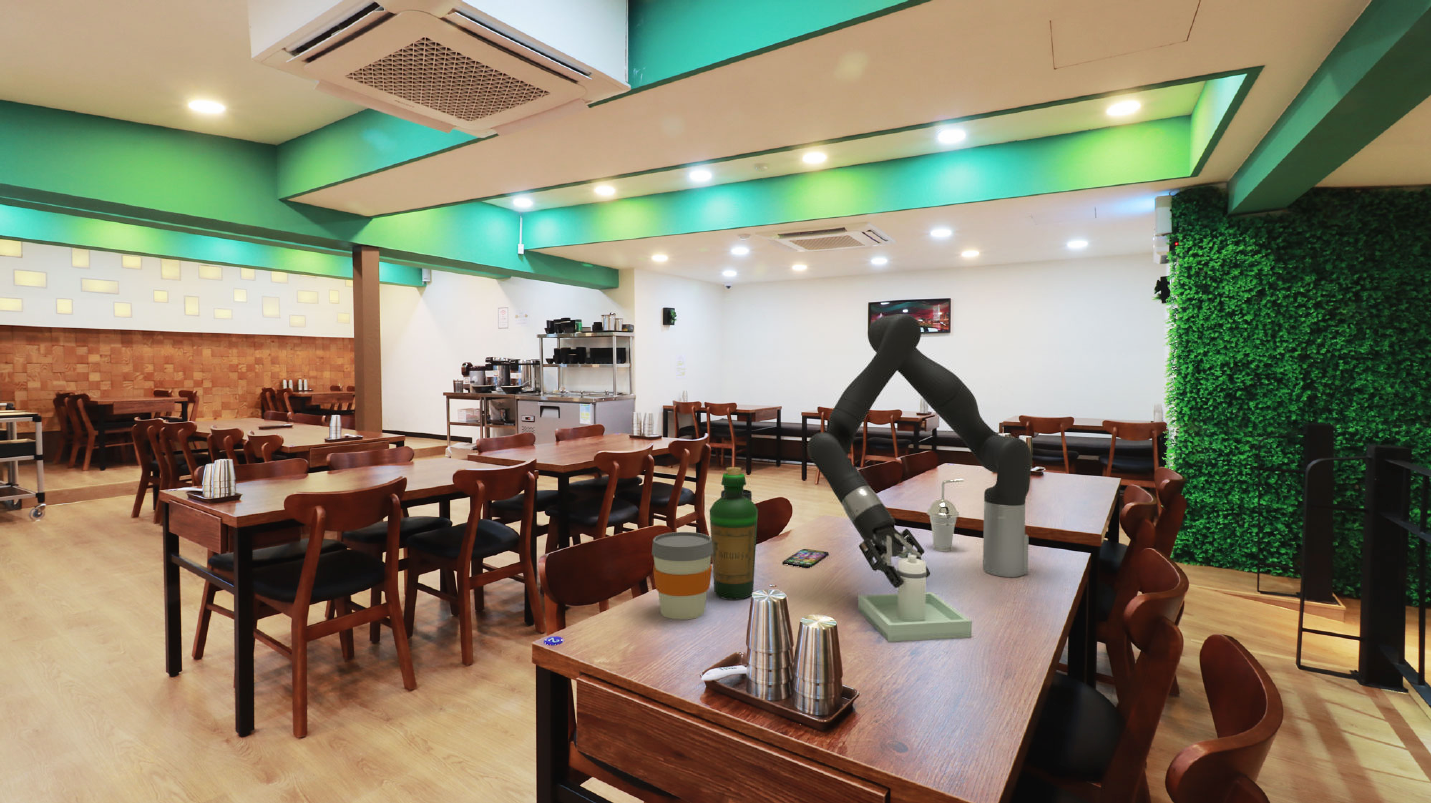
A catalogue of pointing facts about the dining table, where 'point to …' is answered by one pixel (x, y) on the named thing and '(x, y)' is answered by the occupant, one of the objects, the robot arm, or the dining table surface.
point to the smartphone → (806, 558)
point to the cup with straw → (943, 521)
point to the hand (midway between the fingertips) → (913, 581)
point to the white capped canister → (912, 589)
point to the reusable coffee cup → (682, 573)
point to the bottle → (733, 538)
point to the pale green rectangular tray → (935, 626)
